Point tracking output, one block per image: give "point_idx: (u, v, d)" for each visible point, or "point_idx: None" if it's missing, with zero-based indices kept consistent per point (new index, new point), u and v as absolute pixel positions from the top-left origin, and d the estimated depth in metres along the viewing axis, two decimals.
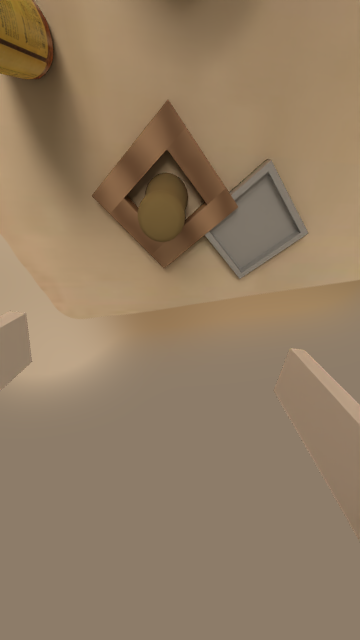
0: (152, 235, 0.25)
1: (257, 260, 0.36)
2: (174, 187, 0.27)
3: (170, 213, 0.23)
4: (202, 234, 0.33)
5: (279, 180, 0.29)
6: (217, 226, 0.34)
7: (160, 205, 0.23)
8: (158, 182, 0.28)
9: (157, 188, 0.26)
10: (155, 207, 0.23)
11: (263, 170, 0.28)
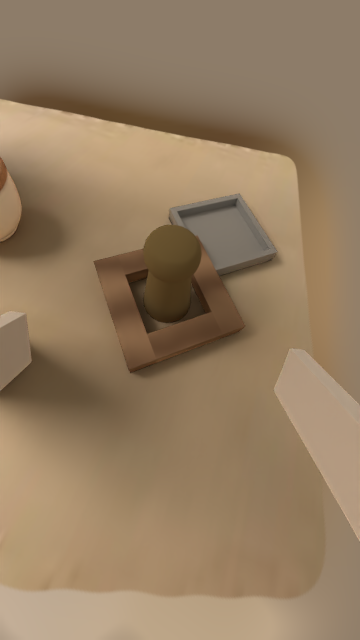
0: (186, 257, 0.18)
1: (258, 234, 0.33)
2: None
3: (169, 229, 0.19)
4: (214, 271, 0.29)
5: (186, 205, 0.33)
6: None
7: (156, 235, 0.19)
8: None
9: (148, 273, 0.23)
10: (156, 240, 0.19)
11: (174, 214, 0.32)
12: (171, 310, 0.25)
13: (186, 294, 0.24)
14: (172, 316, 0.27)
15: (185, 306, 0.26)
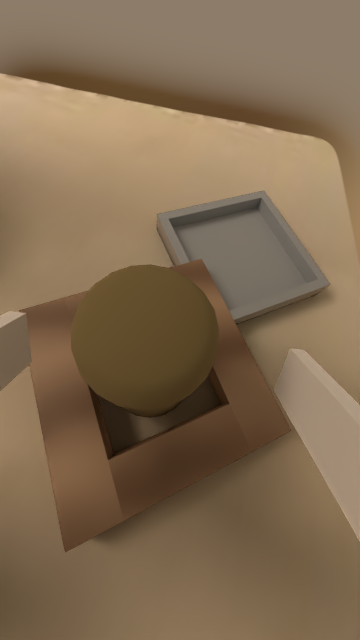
0: (181, 365, 0.07)
1: (296, 254, 0.21)
2: None
3: (135, 280, 0.07)
4: (231, 322, 0.17)
5: (184, 209, 0.21)
6: (224, 301, 0.19)
7: (101, 299, 0.07)
8: None
9: None
10: (98, 314, 0.07)
11: (165, 223, 0.20)
12: (156, 410, 0.14)
13: None
14: (158, 412, 0.15)
15: None
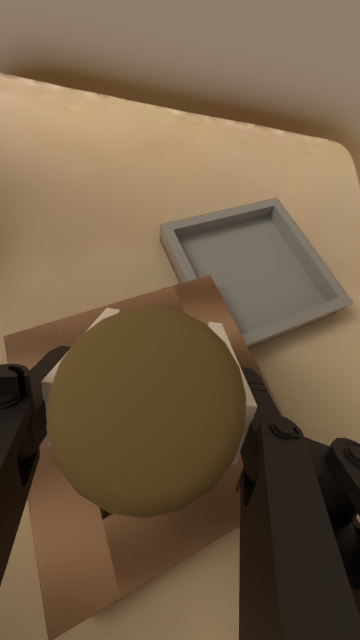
0: (199, 465, 0.05)
1: (314, 268, 0.19)
2: None
3: (135, 334, 0.05)
4: (244, 348, 0.15)
5: (190, 219, 0.19)
6: (235, 322, 0.17)
7: (87, 363, 0.05)
8: None
9: None
10: (83, 388, 0.05)
11: (169, 234, 0.18)
12: None
13: None
14: None
15: None
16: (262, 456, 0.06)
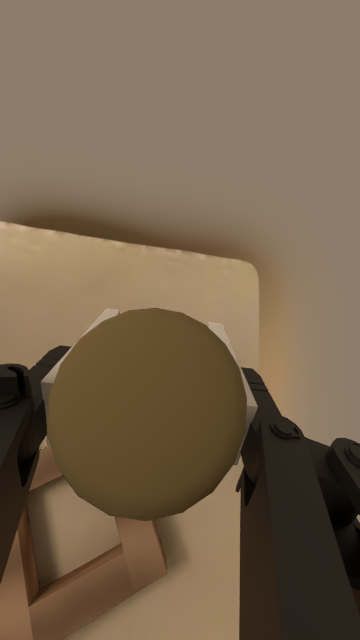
0: (200, 468, 0.05)
1: None
2: None
3: (136, 337, 0.05)
4: None
5: None
6: None
7: (88, 366, 0.05)
8: None
9: None
10: (83, 391, 0.05)
11: None
12: None
13: None
14: None
15: None
16: (262, 455, 0.06)
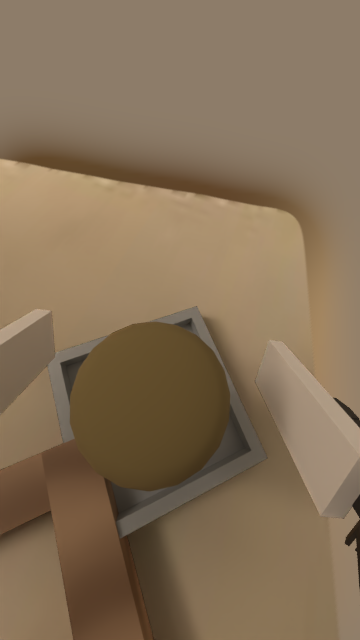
0: (191, 448, 0.06)
1: None
2: None
3: (139, 346, 0.07)
4: (115, 547, 0.12)
5: (84, 345, 0.16)
6: None
7: (102, 370, 0.06)
8: None
9: None
10: (99, 389, 0.06)
11: (53, 370, 0.15)
12: None
13: None
14: None
15: None
16: None
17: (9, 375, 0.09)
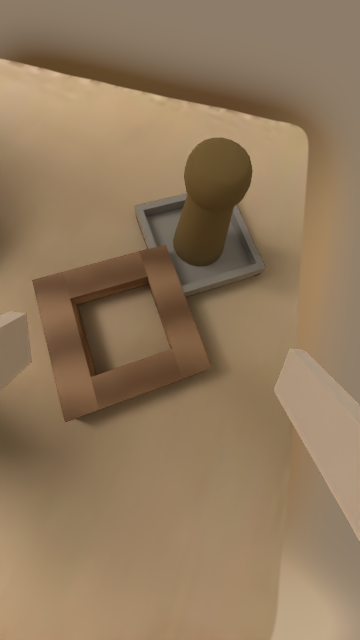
0: (237, 175, 0.16)
1: (244, 241, 0.26)
2: None
3: (217, 141, 0.16)
4: (181, 294, 0.23)
5: (156, 202, 0.26)
6: (182, 278, 0.25)
7: (203, 148, 0.16)
8: (179, 219, 0.23)
9: (184, 205, 0.21)
10: (203, 154, 0.16)
11: (140, 214, 0.26)
12: (206, 251, 0.23)
13: (225, 231, 0.22)
14: (205, 258, 0.25)
15: (220, 247, 0.24)
16: None
17: None
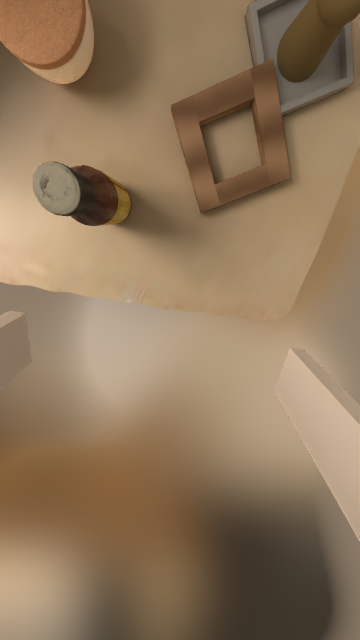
0: None
1: (343, 48, 0.29)
2: (309, 0, 0.25)
3: None
4: (279, 114, 0.31)
5: None
6: (279, 97, 0.32)
7: None
8: (293, 27, 0.26)
9: (305, 12, 0.24)
10: None
11: (253, 16, 0.28)
12: (308, 66, 0.28)
13: (332, 42, 0.26)
14: (304, 74, 0.30)
15: (321, 60, 0.29)
16: None
17: None
